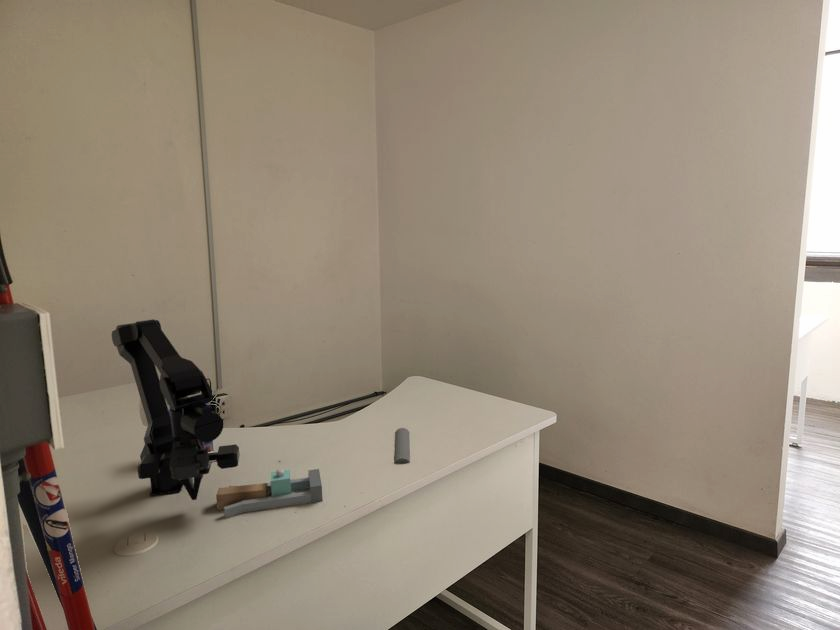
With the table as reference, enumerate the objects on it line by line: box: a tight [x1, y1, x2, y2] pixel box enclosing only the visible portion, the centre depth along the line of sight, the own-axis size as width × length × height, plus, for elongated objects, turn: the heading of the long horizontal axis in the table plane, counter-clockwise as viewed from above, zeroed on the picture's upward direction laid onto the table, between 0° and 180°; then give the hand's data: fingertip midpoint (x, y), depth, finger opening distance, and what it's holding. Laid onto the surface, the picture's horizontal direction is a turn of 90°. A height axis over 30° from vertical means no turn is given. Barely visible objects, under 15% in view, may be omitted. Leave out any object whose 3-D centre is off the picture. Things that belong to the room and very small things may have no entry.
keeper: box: [270, 469, 292, 497], centre depth 117 cm, size 4×4×6 cm
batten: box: [215, 482, 269, 510], centre depth 115 cm, size 10×3×4 cm, turn 101°
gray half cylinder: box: [393, 427, 411, 464], centre depth 142 cm, size 4×20×2 cm, turn 2°
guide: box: [223, 468, 323, 519], centre depth 117 cm, size 20×10×4 cm, turn 105°
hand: (194, 499), depth 113 cm, fingers closed
